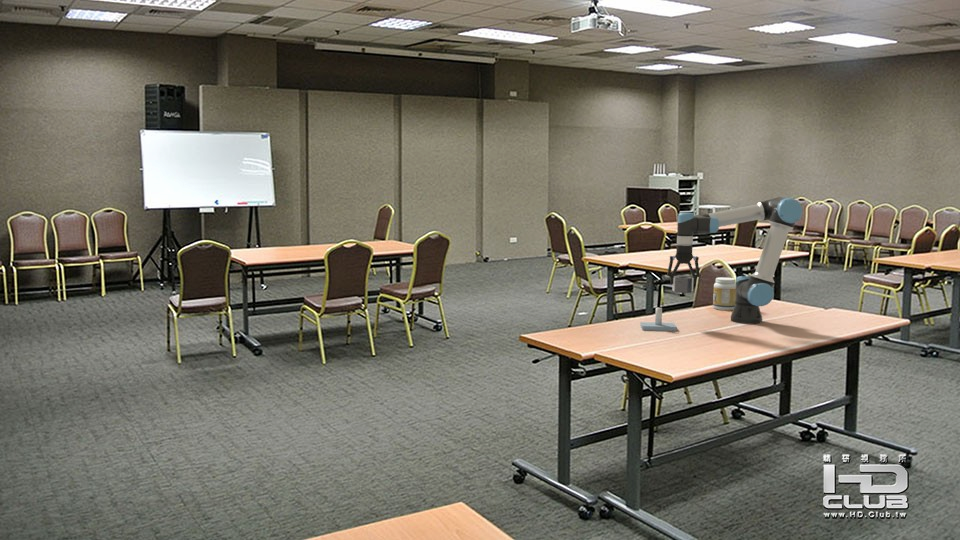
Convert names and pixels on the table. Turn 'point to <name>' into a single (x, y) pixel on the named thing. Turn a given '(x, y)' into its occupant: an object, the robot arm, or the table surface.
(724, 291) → the supplement tub
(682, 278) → the cylinder
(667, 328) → the shaft block
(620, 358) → the table surface
